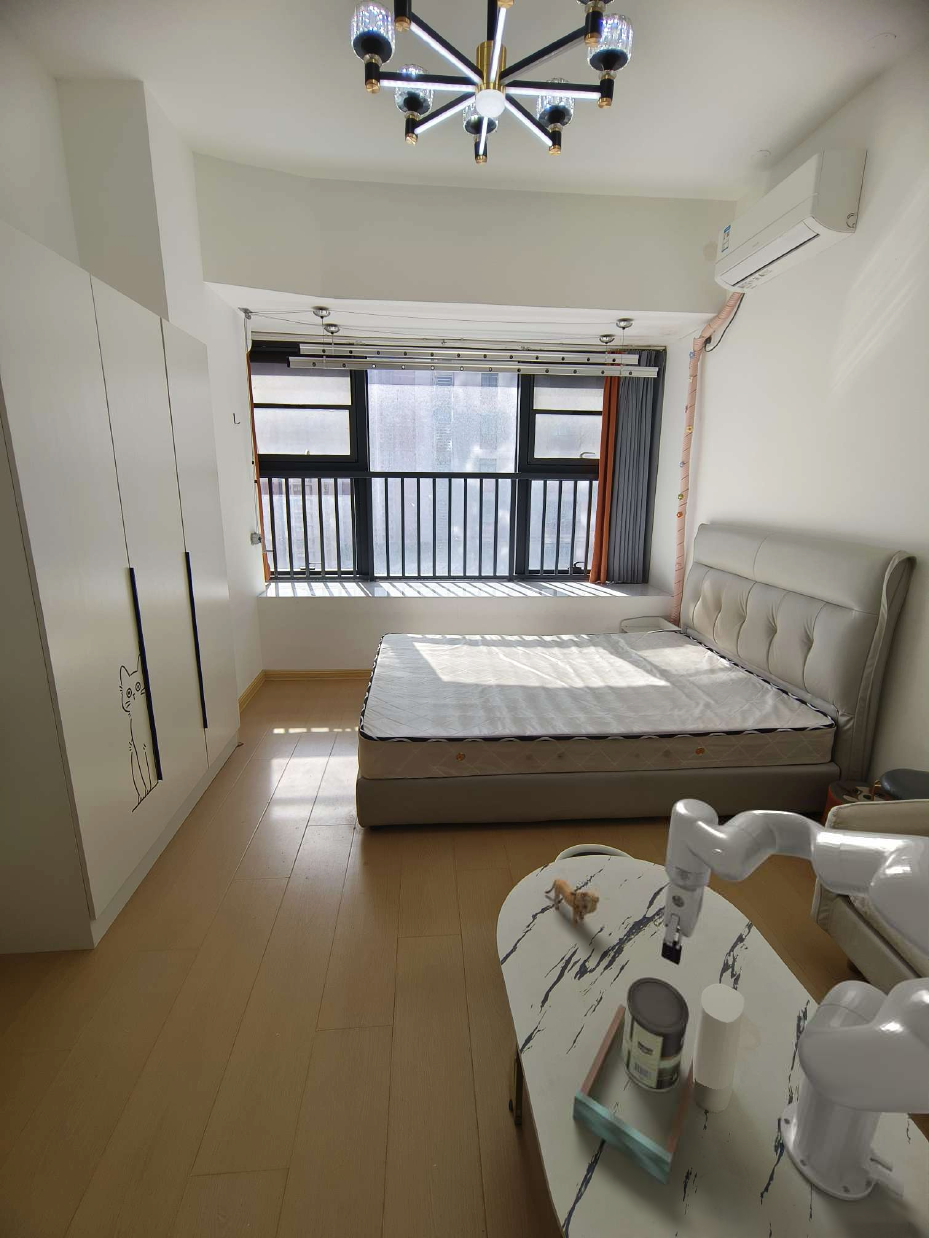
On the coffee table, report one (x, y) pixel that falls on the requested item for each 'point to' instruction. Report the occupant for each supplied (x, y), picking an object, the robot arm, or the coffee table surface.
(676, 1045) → the coffee can
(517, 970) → the coffee table surface
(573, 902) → the lion figurine
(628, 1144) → the bay
